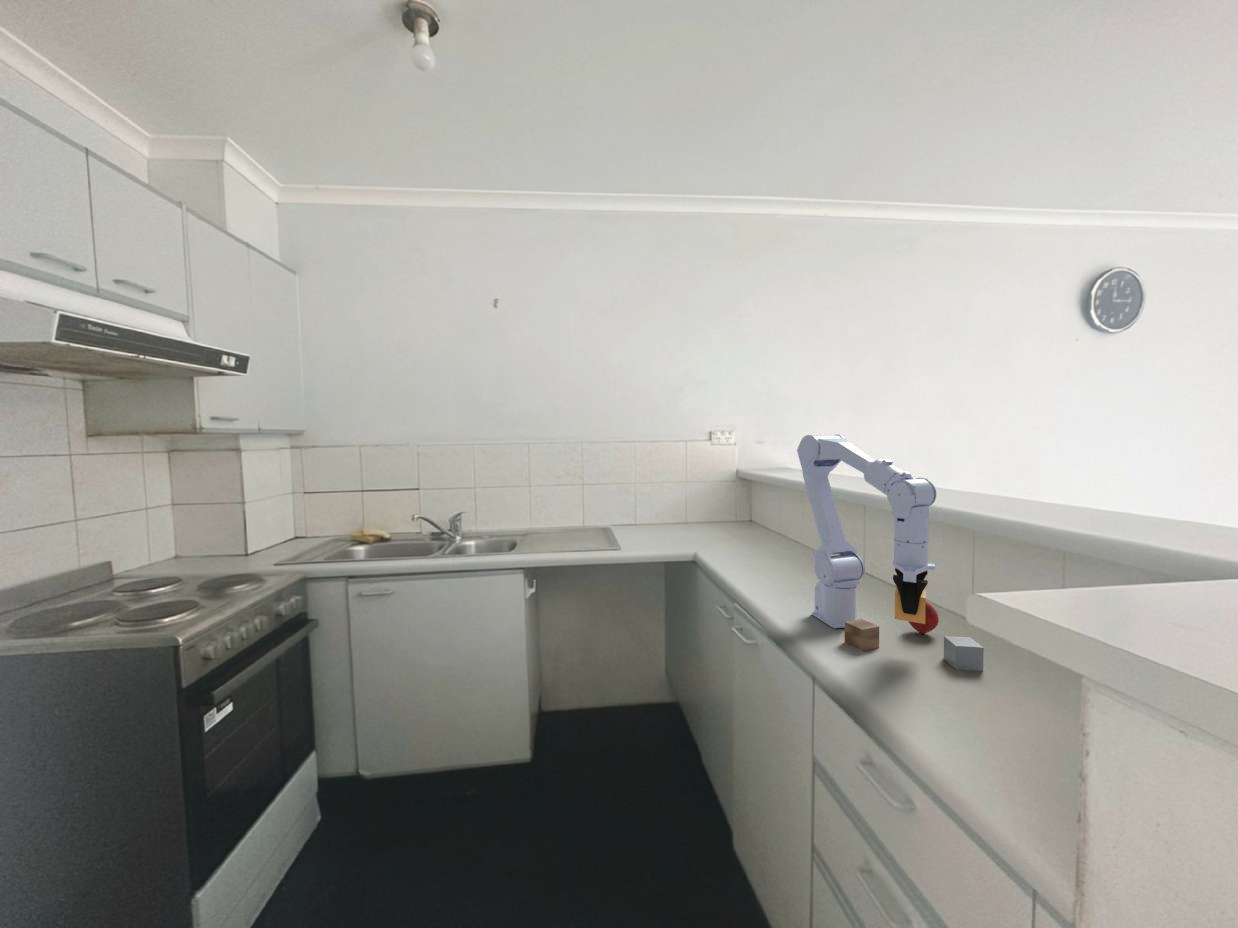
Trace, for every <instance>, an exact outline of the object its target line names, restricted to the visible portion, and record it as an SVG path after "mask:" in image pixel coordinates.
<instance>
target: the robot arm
mask: <svg viewBox="0 0 1238 928" xmlns="http://www.w3.org/2000/svg"><path fill="white" fill-rule="evenodd" d="M798 444H799V445H798V446H797V449H796V452H797V456H798V459H799V460H798V461H799V464H800V466H801V469H802V470H801V471H802V477H803V481H804V485H805V489H806V493H807V497H808V499H809V504H810V507H811V511H812V515H813V519H814V522H815V526H816V530H817V535H818V538H819V541H820V545H819V546H818V548H817V549H816V550H815V551H814V553H813V558H814V573H815V576H816V577H817V579H818V581H817V583H815V586H814V611H811V613H810V614H811V615H812V616H814V617H815V618H817V619H819V620H820V621H822V622H823V623H825V624H826V625H828V626H829V627H831V628H832V629H845V622H846V621H851V620H857V619H858V618H857V610H858V608H857V607H858V605H857V602H858V601H857V598H858V596H857V595H858V593H857V591H858V585H859V584H860V580H862V579H863V577H865V574H866V567H865V562H864V561H863V559H862V558H861V556H860V555H859V553H858V549H857V547H856V546H855V545H853V544H852V543H850V542H849V541H848V540H847V539H846V537H845V534H844V529H843V526H842V523H841V519H840V516H839V512H838V508H837V505H836V502H835V498H834V494H833V491H832V487H831V484H830V480H829V474H830V473H831V472H832V471H834V469H836V467H837V466H838V465H839V464H840V463H841V462H843V463H845V464H846V465H849V466H850V467H852V468H853V469H855V470H856V471H859V472H860V473H862V474H863V478H864V481H865V482H866V483H867V484H869V485H870V486H872V487H873V488H875V489H876V490H878V491H879V492H881V493H882V494H884V495H885V496H886V497H887V501H888V503H889V504H890V506H891V514H892V516H893V517H894V519H893V521H894V522H893V560H892V566H893V567H894V571H895V573H896V574H893V576H892V579H893V582H894V584H895V586H896V587H897V589H898V591H899V595H900V600H901V605H902V610H903V613H906V614H912V615H916V614H917V611H918V607H919V602H920V597H921V594H922V592H923V590H924V591H925V588H926V587H927V585H928V583H929V582H928V580H927V579H925V578H927V576H928V571H929V570H932V571H933V570H936V564H934V563H929V530H930V529H929V527H930V525H929V520H930V519H929V516H930V514H929V513H930V507H931V506H932V505H933V504H934V503H935V502H936V499H937V490H936V487H935V485H934V483H932V482H931V481H929V479H928V478H927V477H916V478H915V477H913V476H912V473H910V472H909V471H904V470H902V469H901V468H898V467H897V466H895V465H894V464H893V462H894V461H892V460H891V459H888V458H887V459H885V458H884V459H883V458H881V459H876V460H874V459H873V458H872V457H870V456H869V455H868V454H866V453H864V452H863V451H862V450H861V449H860V448H858V447H857V446H855V445H853V444H852V443H851V442H850V439H849V438H847V437H845V436H843V435H841V434H834V435H833V434H829V435H826V434H825V435H820V434H819V435H817V434H816V435H812V434H807V435H804V436H803V437H802V438H801V440H800V442H799V443H798Z"/></svg>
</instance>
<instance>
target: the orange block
mask: <svg viewBox="0 0 1238 928" xmlns="http://www.w3.org/2000/svg"><path fill="white" fill-rule="evenodd" d="M926 592H927V591H926V590H925V589H924V590H923V592H922V594H921V597H920V602H919V607H918V611H917V614H916V615H912V614H906V613H903V610H902V605H901V600H900V595H899V591H898V589H897V586H896V587H895V591H894V620H897V621H904V622H909V621H910V622H916V623H922V624H925V605H926V602H927V600H926V598H927V595H926V594H927V593H926Z"/></svg>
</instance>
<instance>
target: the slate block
mask: <svg viewBox="0 0 1238 928" xmlns="http://www.w3.org/2000/svg"><path fill="white" fill-rule="evenodd" d="M984 650H985V649H984V646H982V645H981V644H980V643H979V642H977V641H975V639H973V638H972V637H971V636H955V635H954V636H951V635H944V636H943V659H944V660H945V661H946V662H947V663H948V664H949V665H950V666H952V668H953V669H954V670H957V671H973V672H974V671H976V672H984Z"/></svg>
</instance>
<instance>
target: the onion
mask: <svg viewBox="0 0 1238 928" xmlns="http://www.w3.org/2000/svg"><path fill="white" fill-rule="evenodd" d="M939 620H940V619H939V614H938V612H937V610H936V609H935V608H934V606H933V605H931V604H930V603H929V602H927V601H926V605H925V624H922V623H916V622H910V621H908V623H909V625H910V626H911V627H912V628H913V629H914V630H915V631H916V632H918V633H919V634H921V635H924V634H927V633H930V632H932V631H933V630H935V629H936V628H937V626H939V625H938V624H939Z"/></svg>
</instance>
